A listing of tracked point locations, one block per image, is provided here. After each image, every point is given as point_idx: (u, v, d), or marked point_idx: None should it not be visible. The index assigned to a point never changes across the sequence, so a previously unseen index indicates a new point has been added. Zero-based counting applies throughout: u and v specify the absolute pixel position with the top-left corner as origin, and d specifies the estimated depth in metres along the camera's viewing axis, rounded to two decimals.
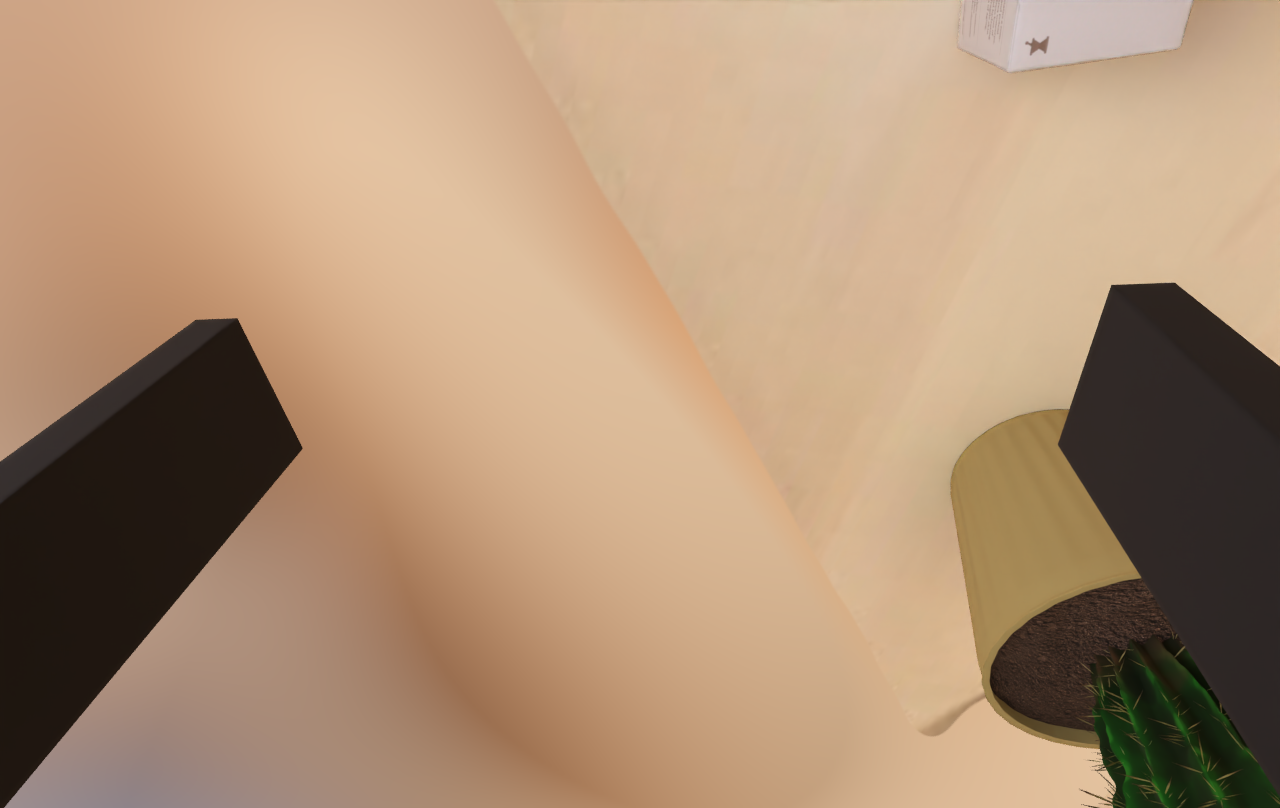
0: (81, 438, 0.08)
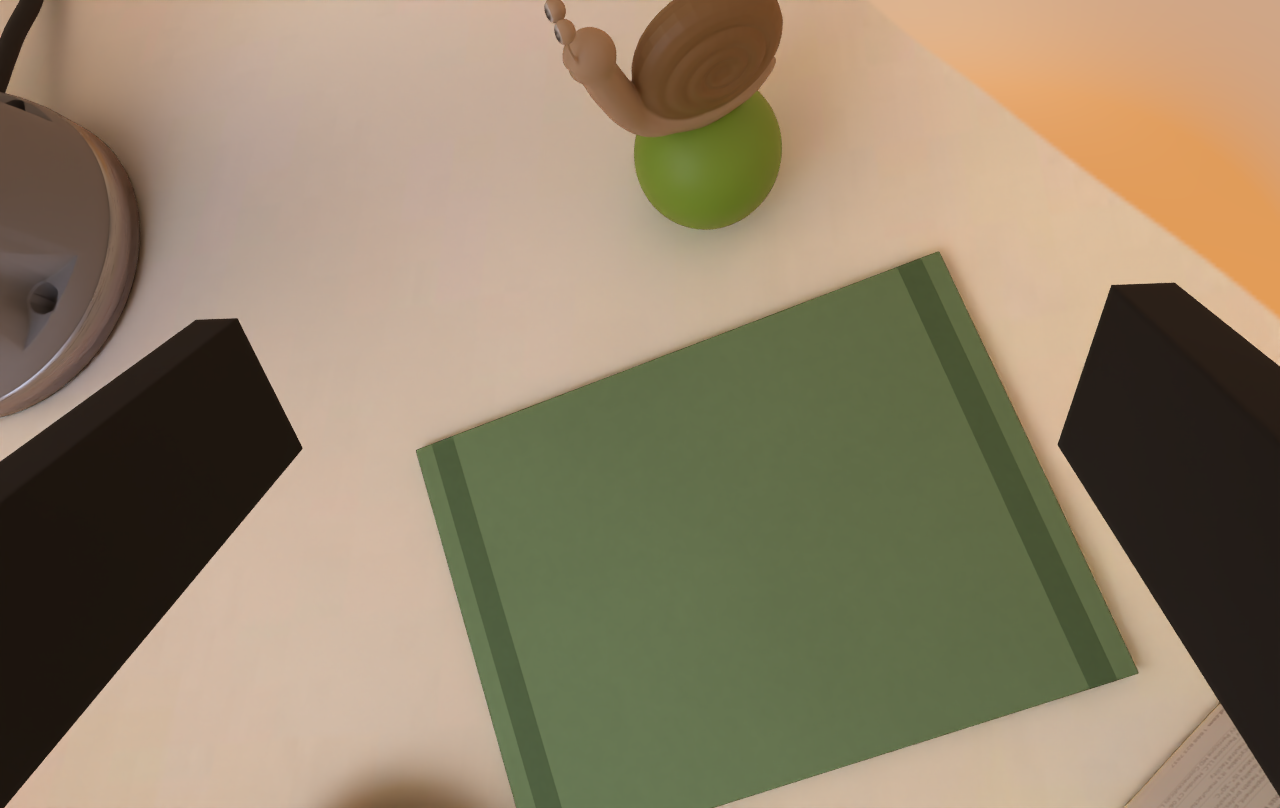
0: (81, 438, 0.08)
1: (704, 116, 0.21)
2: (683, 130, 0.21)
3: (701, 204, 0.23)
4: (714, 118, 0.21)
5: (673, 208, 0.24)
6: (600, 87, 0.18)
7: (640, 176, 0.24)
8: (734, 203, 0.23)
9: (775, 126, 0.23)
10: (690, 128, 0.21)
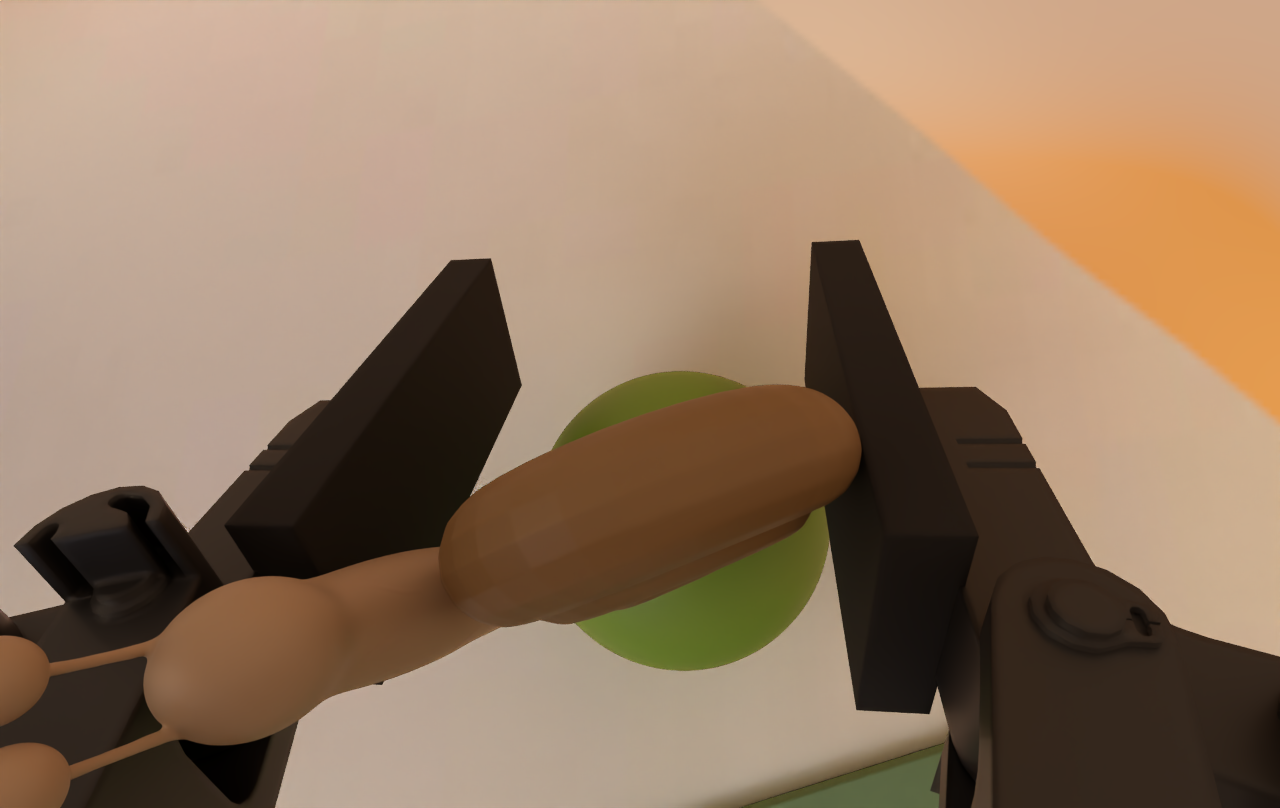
0: (420, 348, 0.09)
1: None
2: None
3: (664, 666, 0.11)
4: None
5: (610, 650, 0.12)
6: None
7: None
8: (733, 660, 0.11)
9: None
10: None
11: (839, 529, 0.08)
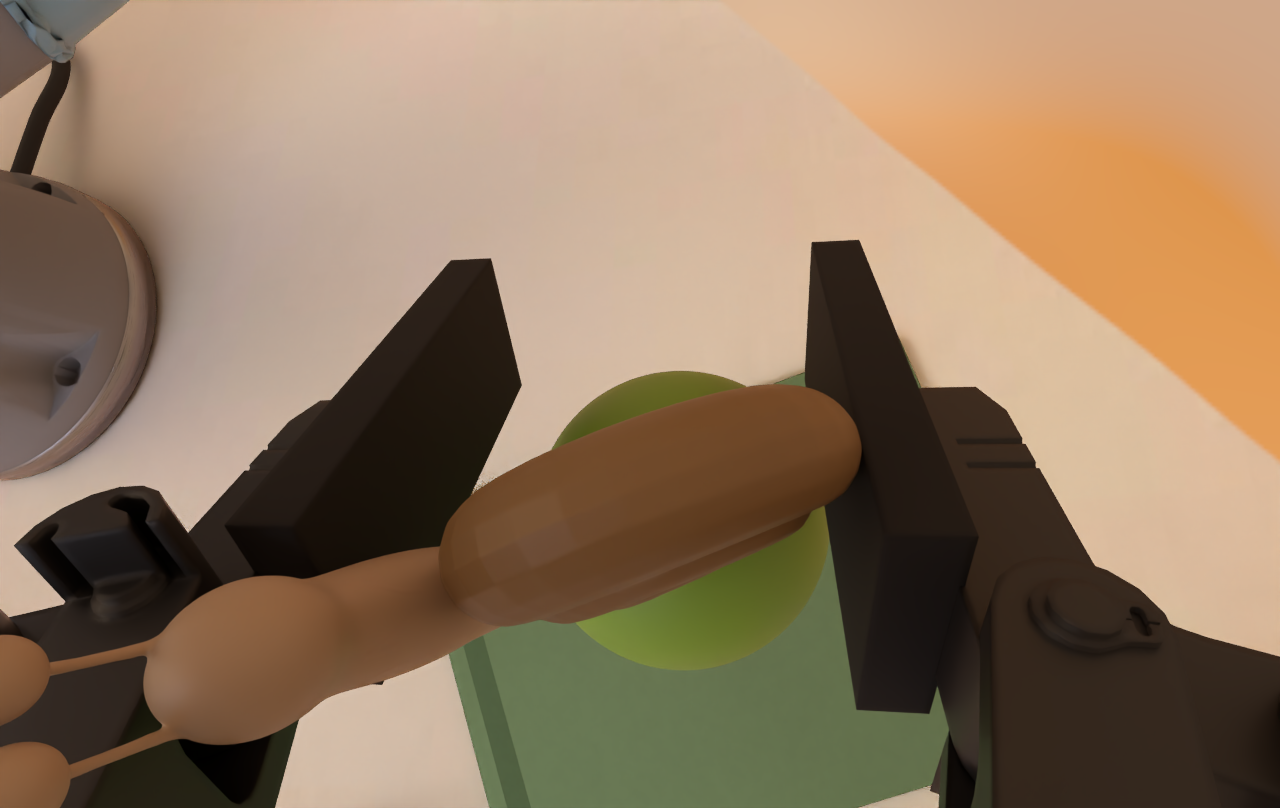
0: (420, 348, 0.09)
1: None
2: None
3: (663, 665, 0.11)
4: None
5: None
6: None
7: None
8: (733, 659, 0.11)
9: None
10: None
11: (839, 529, 0.08)
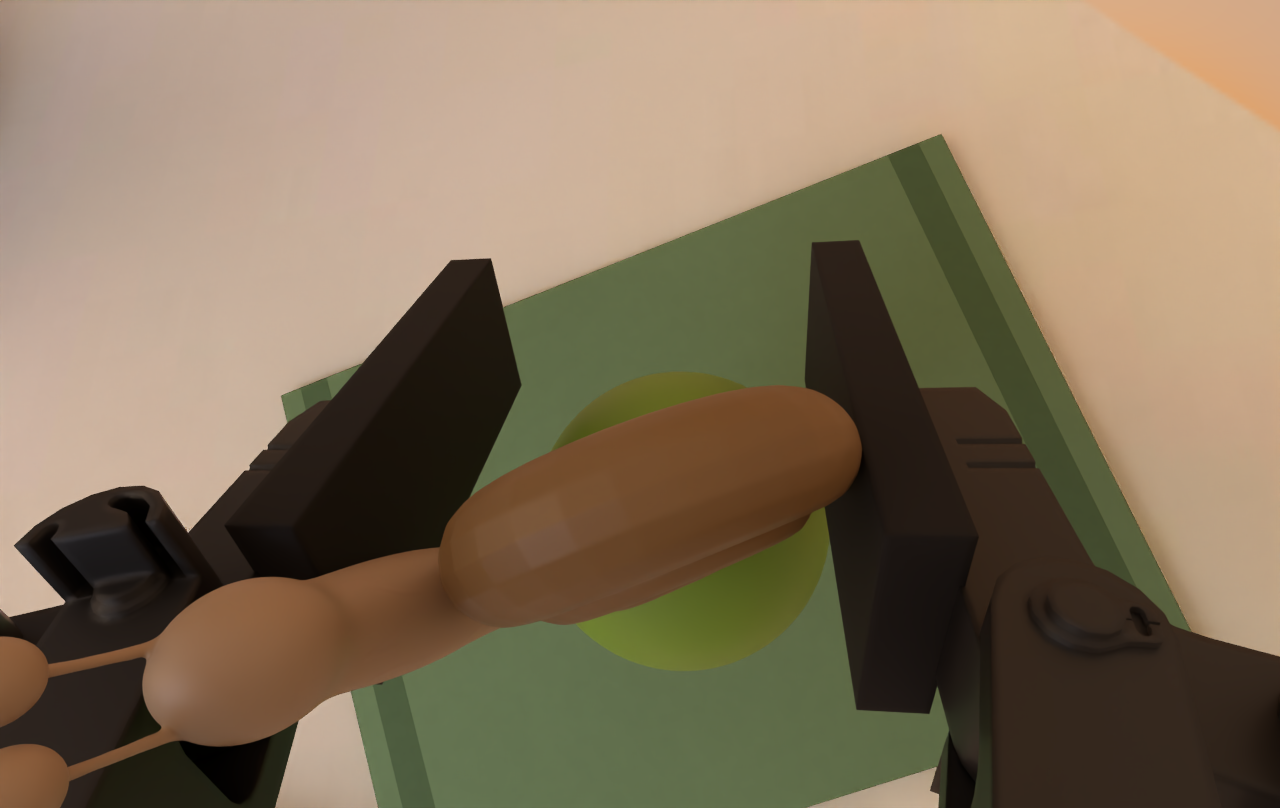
0: (420, 348, 0.09)
1: None
2: None
3: (663, 666, 0.11)
4: None
5: None
6: None
7: None
8: (733, 660, 0.11)
9: None
10: None
11: (839, 529, 0.08)
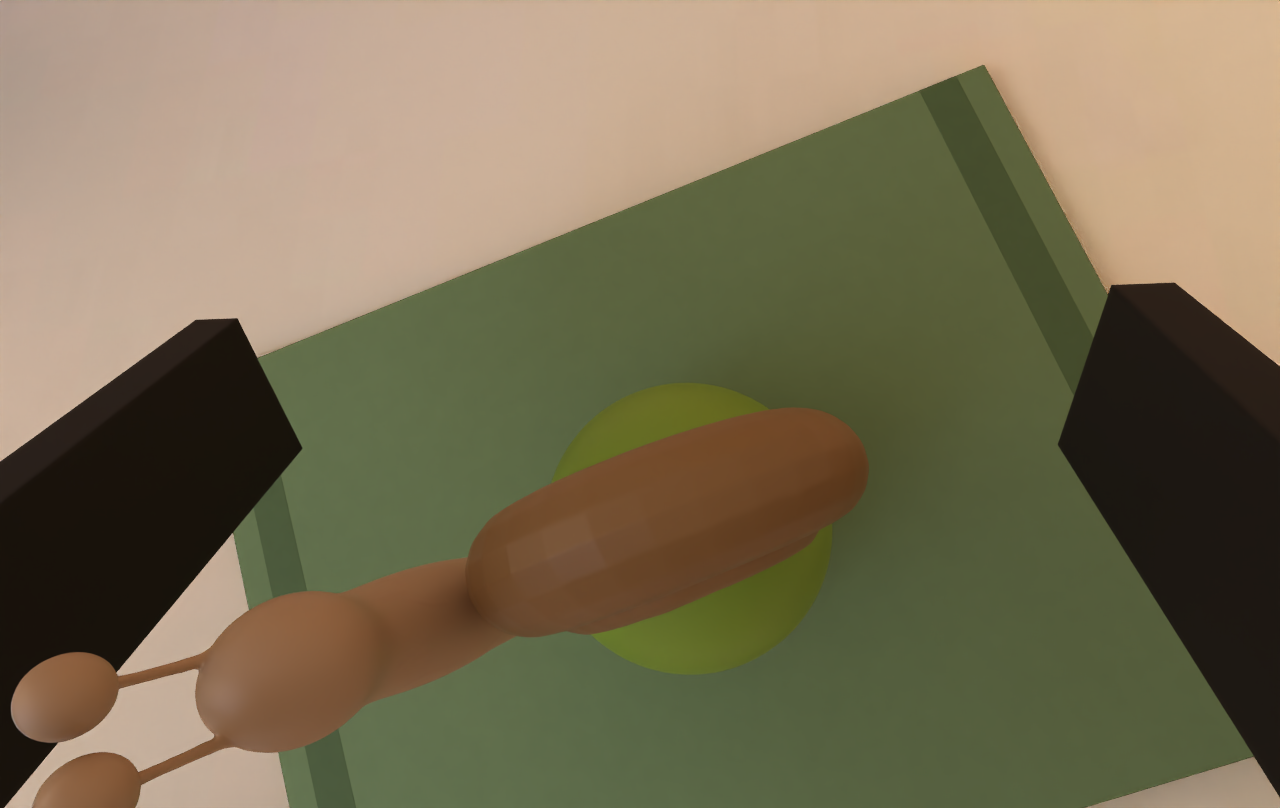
0: (81, 438, 0.08)
1: None
2: None
3: (671, 670, 0.11)
4: None
5: None
6: None
7: None
8: (738, 664, 0.11)
9: None
10: None
11: (1279, 692, 0.06)
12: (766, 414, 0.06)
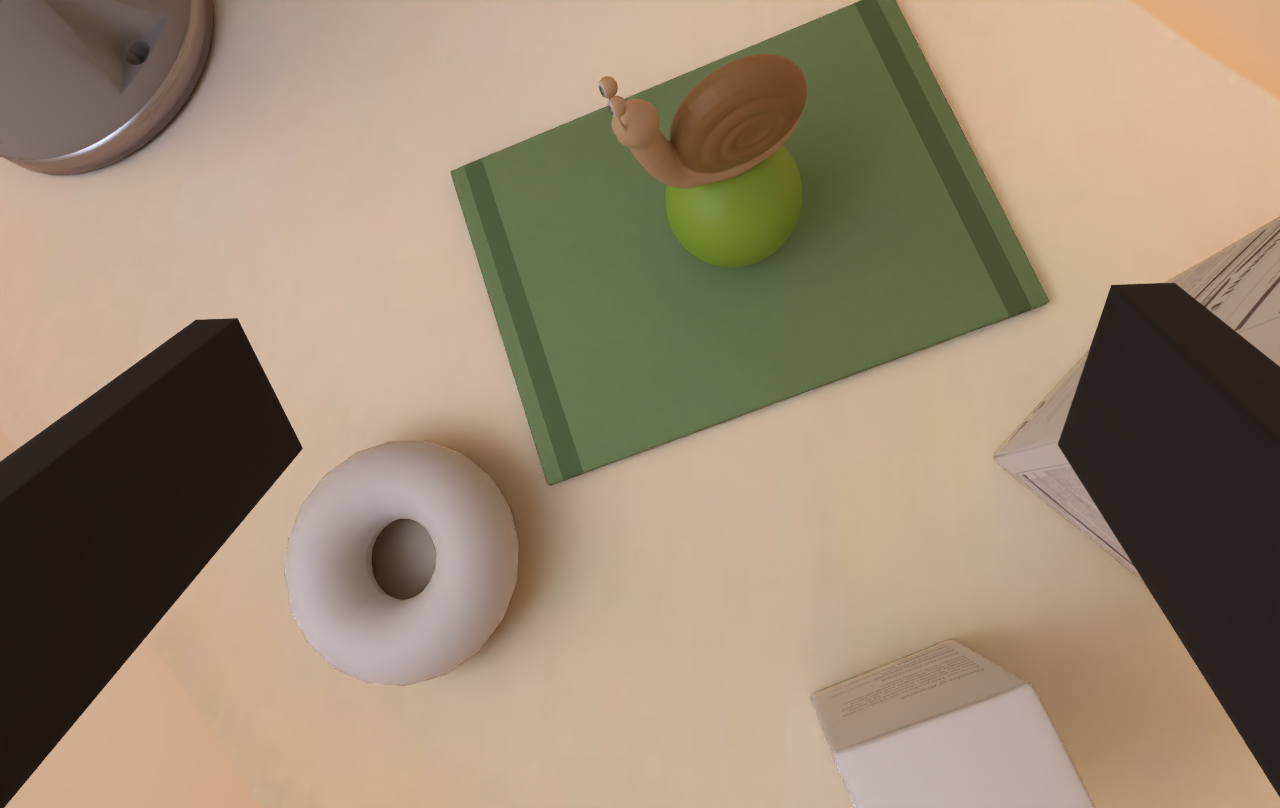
0: (81, 438, 0.08)
1: (733, 169, 0.23)
2: (714, 181, 0.23)
3: (728, 247, 0.25)
4: (742, 170, 0.23)
5: (702, 249, 0.26)
6: (644, 150, 0.20)
7: (671, 220, 0.26)
8: (759, 246, 0.25)
9: (797, 175, 0.25)
10: (720, 180, 0.23)
11: (1279, 692, 0.06)
12: None
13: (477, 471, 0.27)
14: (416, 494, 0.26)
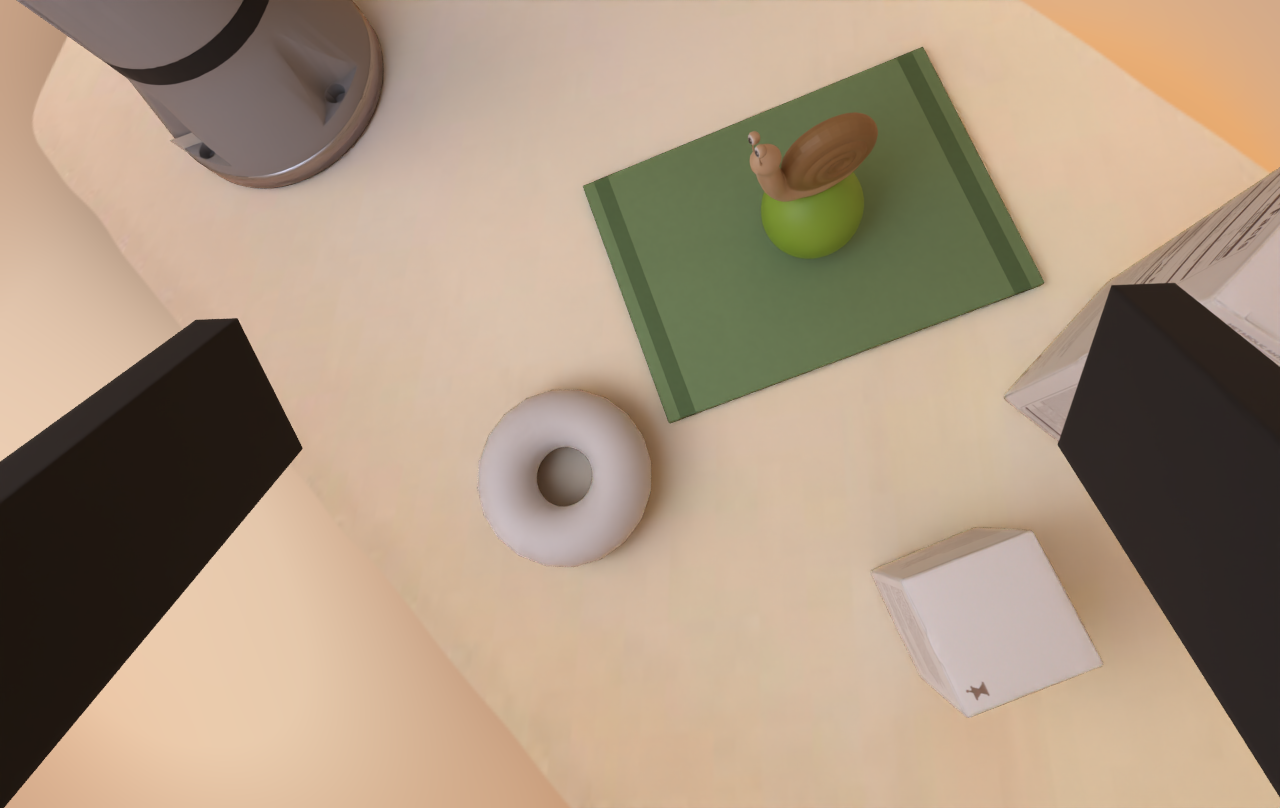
0: (81, 438, 0.08)
1: (820, 188, 0.33)
2: (805, 196, 0.33)
3: (811, 243, 0.35)
4: (825, 188, 0.33)
5: (791, 245, 0.35)
6: (768, 177, 0.29)
7: (767, 223, 0.35)
8: (833, 242, 0.35)
9: (861, 191, 0.34)
10: (810, 195, 0.33)
11: (1279, 692, 0.06)
12: None
13: (621, 410, 0.37)
14: (580, 425, 0.36)
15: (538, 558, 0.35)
